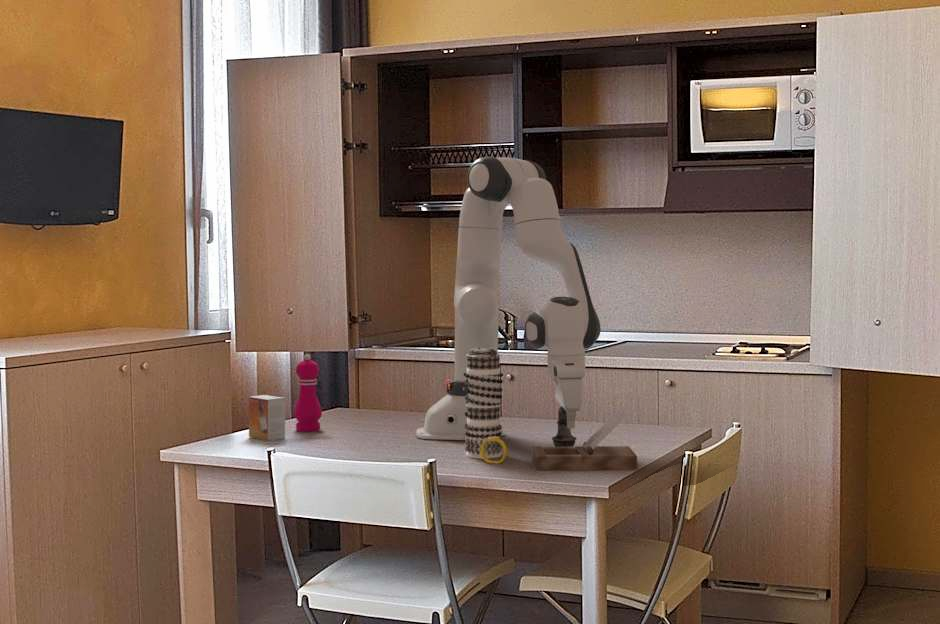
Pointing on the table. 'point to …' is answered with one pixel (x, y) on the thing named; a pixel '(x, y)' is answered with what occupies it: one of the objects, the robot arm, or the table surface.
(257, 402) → the small box
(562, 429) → the weathered chess piece
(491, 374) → the decorative candle
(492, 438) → the yellow faceted ring
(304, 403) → the pepper mill
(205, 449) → the table surface
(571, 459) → the walnut holder
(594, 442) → the latch bar
